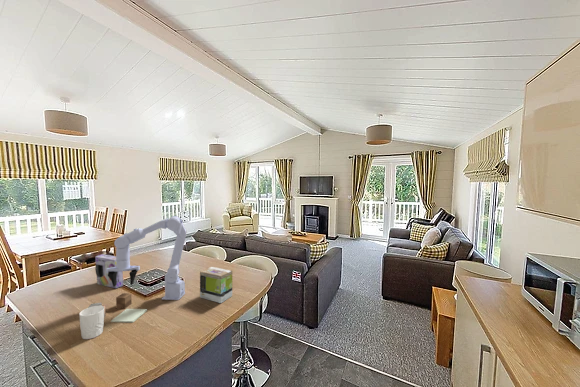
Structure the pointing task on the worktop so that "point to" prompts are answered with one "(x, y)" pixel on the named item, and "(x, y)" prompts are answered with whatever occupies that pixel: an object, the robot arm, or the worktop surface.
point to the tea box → (216, 284)
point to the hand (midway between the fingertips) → (123, 284)
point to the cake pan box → (102, 276)
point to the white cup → (91, 321)
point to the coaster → (129, 315)
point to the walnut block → (123, 300)
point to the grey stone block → (95, 304)
